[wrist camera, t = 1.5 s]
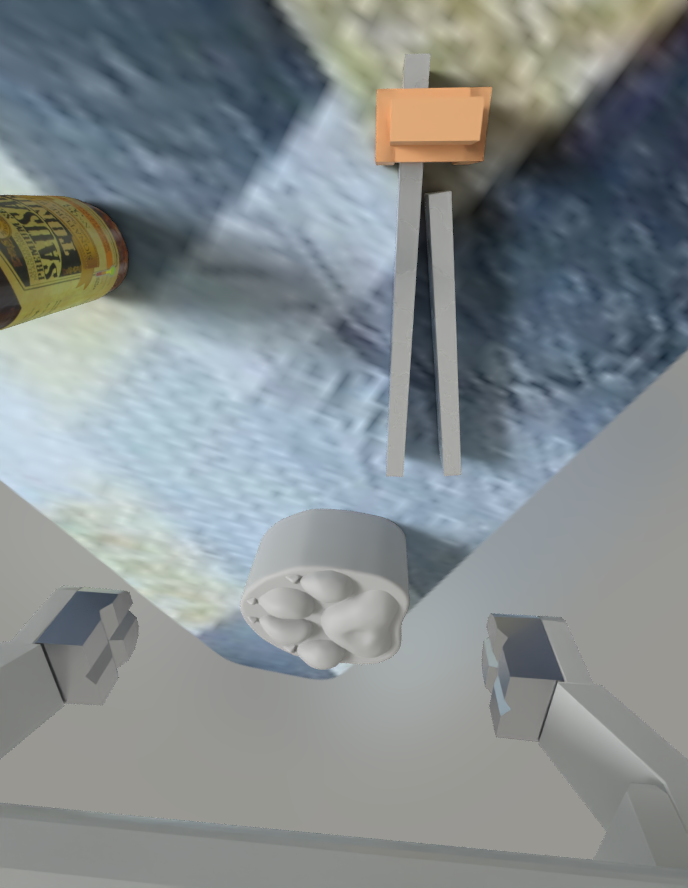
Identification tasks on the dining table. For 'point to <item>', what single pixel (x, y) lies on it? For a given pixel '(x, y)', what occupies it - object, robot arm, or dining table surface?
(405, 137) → the collar
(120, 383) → the dining table surface
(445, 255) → the bar
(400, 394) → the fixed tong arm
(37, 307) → the sauce bottle
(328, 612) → the lumpy-topped squat cylinder
